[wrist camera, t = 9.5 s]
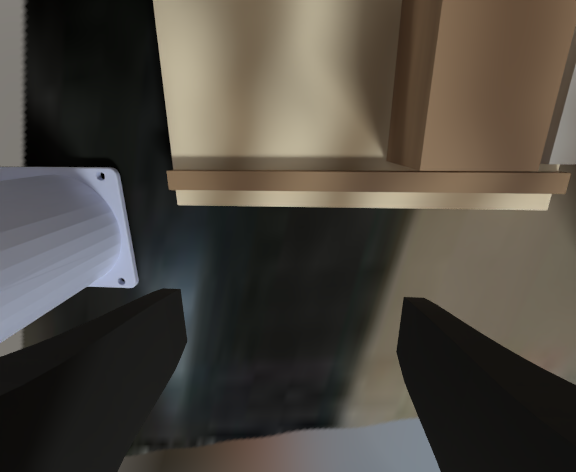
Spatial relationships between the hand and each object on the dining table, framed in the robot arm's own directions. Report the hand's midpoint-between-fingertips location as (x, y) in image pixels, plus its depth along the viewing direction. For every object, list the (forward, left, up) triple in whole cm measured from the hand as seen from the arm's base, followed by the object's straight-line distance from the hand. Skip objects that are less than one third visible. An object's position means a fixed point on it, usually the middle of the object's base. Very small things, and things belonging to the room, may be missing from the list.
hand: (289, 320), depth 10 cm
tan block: (+6, +9, -8) cm, 14 cm away
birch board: (+3, +9, -9) cm, 13 cm away
